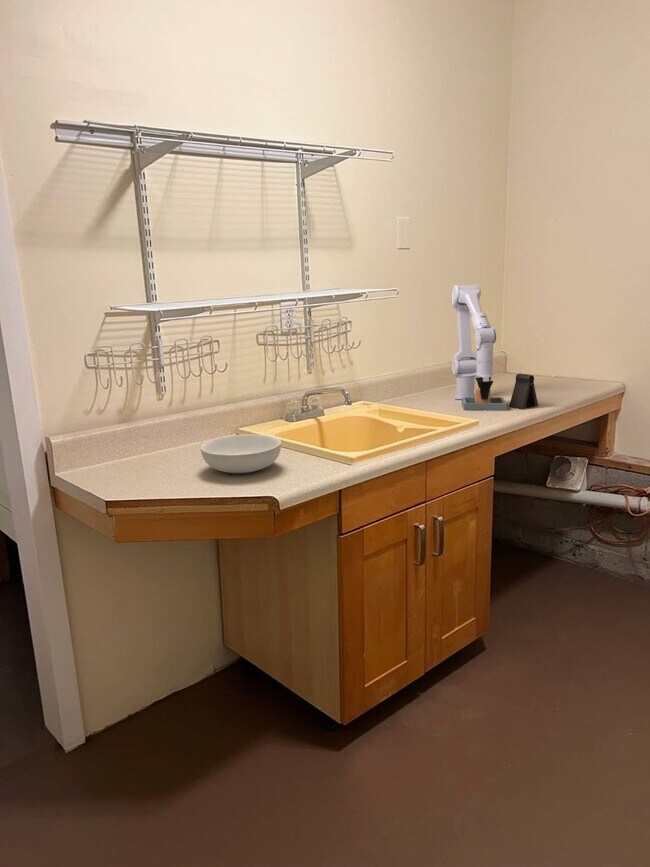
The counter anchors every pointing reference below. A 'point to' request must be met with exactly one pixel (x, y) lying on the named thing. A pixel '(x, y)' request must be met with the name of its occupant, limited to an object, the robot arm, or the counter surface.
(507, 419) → the counter surface
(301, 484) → the counter surface
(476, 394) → the orange block
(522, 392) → the phone stand
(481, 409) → the slate tray
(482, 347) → the robot arm
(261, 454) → the serving bowl
